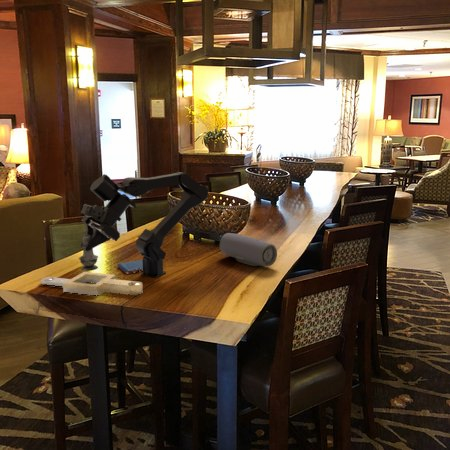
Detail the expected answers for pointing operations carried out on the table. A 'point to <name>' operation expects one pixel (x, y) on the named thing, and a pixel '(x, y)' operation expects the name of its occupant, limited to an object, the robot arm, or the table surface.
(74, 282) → the square wooden loop
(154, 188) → the robot arm
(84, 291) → the cream handled frame
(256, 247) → the bluetooth speaker
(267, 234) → the table surface
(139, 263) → the woven mat
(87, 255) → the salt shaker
